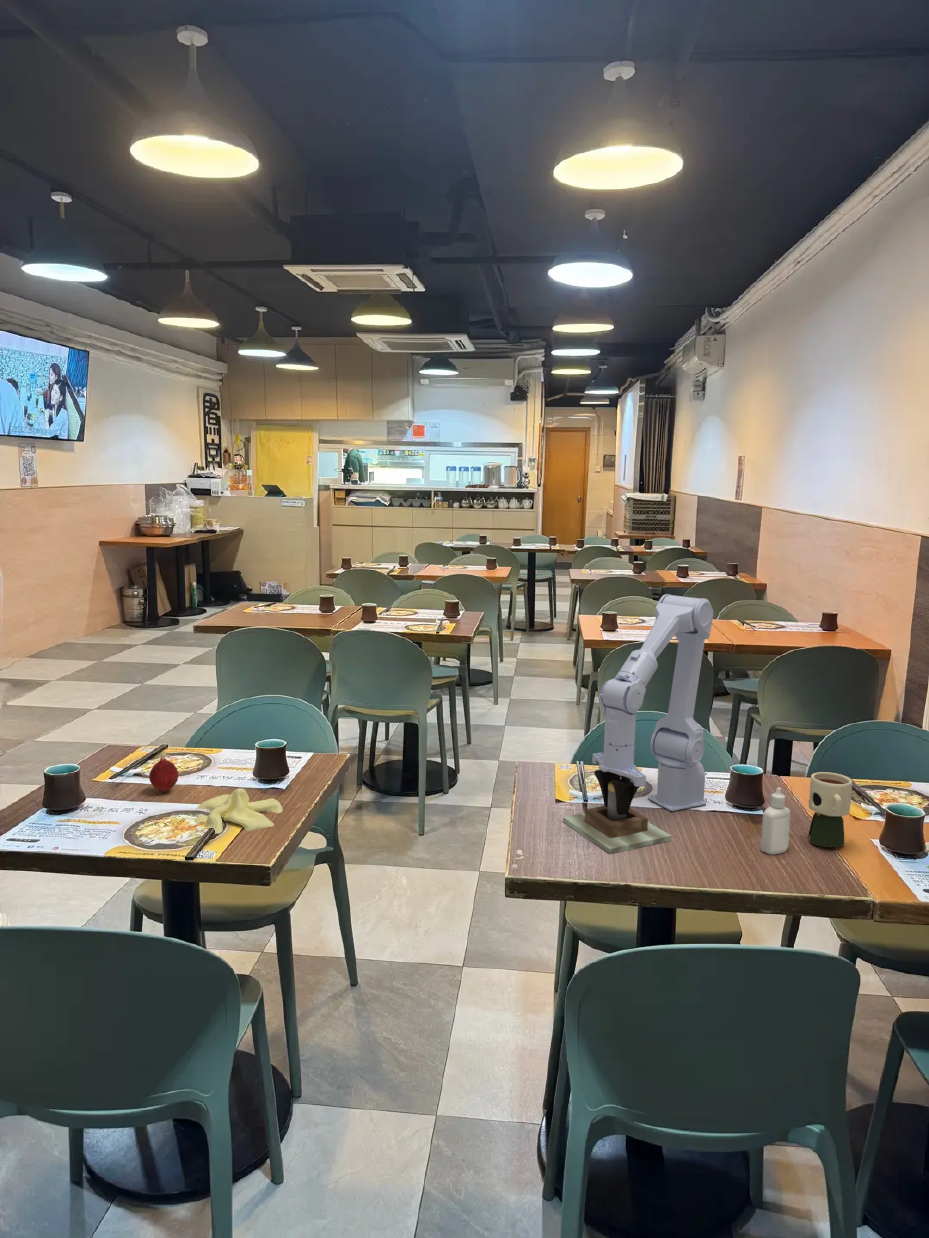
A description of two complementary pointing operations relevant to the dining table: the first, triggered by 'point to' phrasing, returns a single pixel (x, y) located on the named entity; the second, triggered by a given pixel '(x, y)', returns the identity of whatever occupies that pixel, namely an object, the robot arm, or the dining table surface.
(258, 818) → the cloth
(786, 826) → the eye dropper bottle
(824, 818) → the character mug
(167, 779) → the onion
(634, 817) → the holder
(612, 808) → the yellow capped shaker
